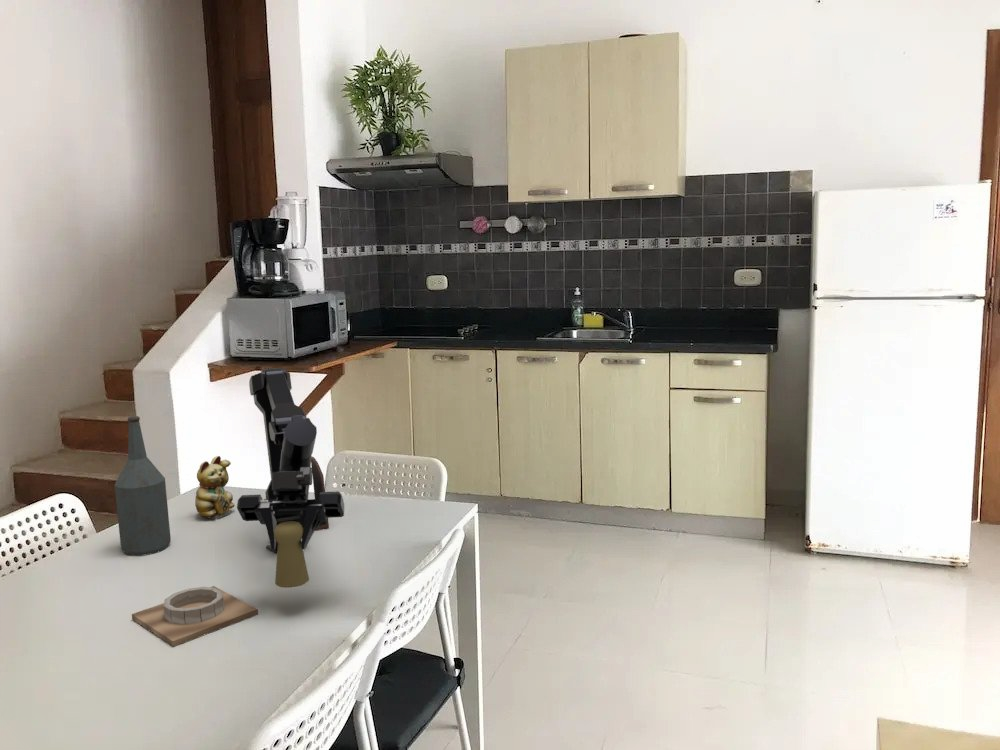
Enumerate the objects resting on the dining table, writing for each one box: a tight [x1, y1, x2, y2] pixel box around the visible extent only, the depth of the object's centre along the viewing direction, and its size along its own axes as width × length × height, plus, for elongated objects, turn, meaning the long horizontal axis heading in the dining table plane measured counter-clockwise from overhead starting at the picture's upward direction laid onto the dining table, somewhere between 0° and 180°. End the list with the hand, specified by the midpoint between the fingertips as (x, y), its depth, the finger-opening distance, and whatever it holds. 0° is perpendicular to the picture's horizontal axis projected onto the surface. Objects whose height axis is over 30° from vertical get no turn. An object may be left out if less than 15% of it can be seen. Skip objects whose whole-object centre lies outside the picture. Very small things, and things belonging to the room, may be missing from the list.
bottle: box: [114, 415, 172, 556], centre depth 185 cm, size 10×10×30 cm
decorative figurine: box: [194, 455, 235, 520], centre depth 208 cm, size 10×8×15 cm
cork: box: [274, 521, 310, 589], centre depth 152 cm, size 6×6×11 cm
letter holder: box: [298, 456, 330, 532], centre depth 203 cm, size 10×20×14 cm, turn 20°
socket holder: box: [131, 585, 259, 647], centre depth 152 cm, size 16×16×4 cm
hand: (288, 549), depth 151 cm, fingers closed on cork, 5 cm apart
